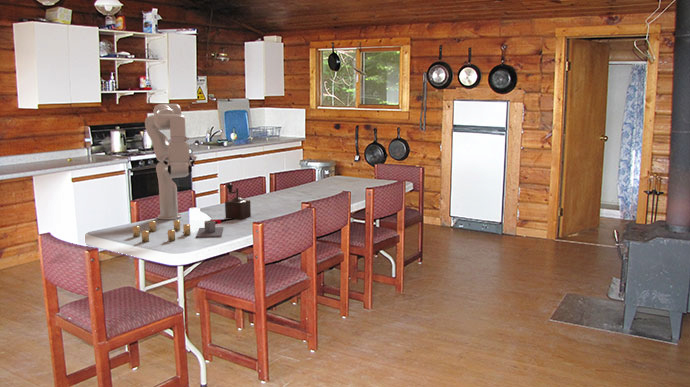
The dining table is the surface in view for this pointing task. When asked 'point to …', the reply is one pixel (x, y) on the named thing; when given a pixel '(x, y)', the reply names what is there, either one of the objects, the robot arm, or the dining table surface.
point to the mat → (203, 234)
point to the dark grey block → (209, 226)
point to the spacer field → (153, 228)
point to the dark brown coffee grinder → (237, 206)
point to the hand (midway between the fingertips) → (179, 173)
